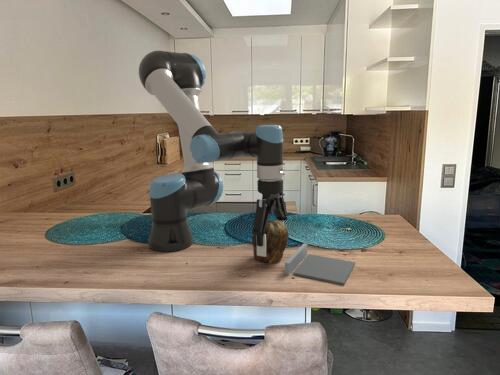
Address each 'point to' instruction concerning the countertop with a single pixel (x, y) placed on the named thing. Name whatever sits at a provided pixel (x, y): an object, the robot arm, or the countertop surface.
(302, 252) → the acrylic wall
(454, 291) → the countertop surface
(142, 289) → the countertop surface
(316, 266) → the pad
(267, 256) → the brown rounded lump
